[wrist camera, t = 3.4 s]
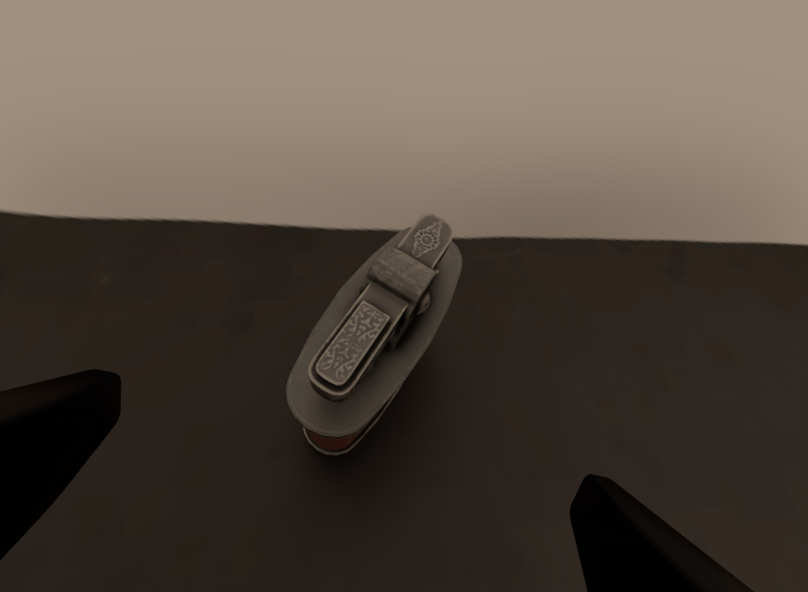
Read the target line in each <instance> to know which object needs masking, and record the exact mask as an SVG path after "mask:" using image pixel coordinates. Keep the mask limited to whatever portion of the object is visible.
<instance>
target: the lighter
mask: <svg viewBox="0 0 808 592" xmlns="http://www.w3.org/2000/svg"><path fill="white" fill-rule="evenodd" d="M453 236H454V229H453V227H452V226H451V225H450V224H449V223H448V222H446V221H445V220H443V219H442V218H440V217H438V216H436V215H433V214H425V215H422V216H421V217H420V218H419V219H418V220H417V221H416V223H415V224H414V225H413V227H411V228H410V227H409V228H407V229H405V230H403V231H401V232H399V233H398V234H397V235H396V236H394V237H393V238H392V239H391V240H390V241H388V242H387V243H386V244H385V245H384V246H382V247H381V248H380V249H379V250H378V251H376V252H375V253H374V254H373V255H372V256H371V257H370V258H369V259H368V260H367V261H366V262H365V263H364V264H363V265H362V266H361V267H360V268H359V269H358V271H357V272H356V273H355V274H354V275H353V276H352V277H351V278H350V279H349V280H348V281H347V282H346V284H345V285H344V286H343V287H342V288H341V289H340V290H339V292H338V293H337V295H336V296H335V298H334V299H333V301H332V302H331V304H330V305H329V307H328V308H327V310H326V311H325V313H324V314H323V315H322V317H321V318H320V320H319V321H318V323H317V324H316V326H315V327H314V329H313V331H312V333H311V334H310V336H309V338H308V340H307V342H306V344H305V346H304V348H303V350H302V352H301V354H300V356H299V358H298V360H297V362H296V364H295V365H294V367H293V369H292V371H291V373H290V376H289V379H288V383H287V386H286V391H287V400H288V404H289V406H290V408H291V410H292V412H293V414H294V416H295V418H296V420H297V421H298V422H299V423H300V424H301V425H302V426H303V429H304V434H305V436H306V438H307V440H308V442H309V443H310V445H311V446H312V447H313V448H314V449H315V450H317V451H318V452H320V453H322V454H325V455H327V456H340V455H343V454H346V453H348V452H349V451H350V450H352V449H353V448H354V447H355V446H356V445H357V444H358V443H359V441H360V440H361V439H362V438H363V437H364V436H365V435H366V434H367V433H368V431H369V430H370V429H371V428H372V427H373V426H374V425H375V424H376V422H377V421H378V420H379V418H380V417H381V415H382V414H383V413H384V411H385V410H386V408H387V407H388V405H389V404H390V403H391V401H392V400H393V398H394V397H395V396H396V394H397V393H398V391H399V389H400V387H401V385H402V383H403V382H404V381H405V379H406V378H407V376H408V375H409V374H410V372H411V371H412V369H413V368H414V366H415V365H416V364H417V362H418V361H419V359H420V358H421V357H422V355H423V354H424V352H425V351H426V349H427V348H428V346H429V345H430V343H431V341H432V339H433V337H434V335H435V333H436V331H437V329H438V327H439V325H440V323H441V321H442V319H443V317H444V315H445V313H446V311H447V309H448V307H449V305H450V302H451V299H452V296H453V293H454V290H455V287H456V284H457V281H458V278H459V275H460V272H461V269H462V257H461V254H460V251H459V249H458V248H457V246H456V245H455V244H454V242H453V241H452V238H453Z"/></svg>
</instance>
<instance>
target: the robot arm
mask: <svg viewBox="0 0 808 592" xmlns="http://www.w3.org/2000/svg"><path fill="white" fill-rule="evenodd" d="M120 410H121V379H120V376H119V375H118V374H116V373H112V372H108V371H103V370H98V369H91V370H87V371H83V372H79V373H75V374H70V375H66V376H62V377H58V378H54V379H50V380H46V381H42V382H37V383H33V384H29V385H25V386H21V387H17V388H13V389H8V390H4V391H0V560H1V559H2V558H3V557H4V556H5V555H6V553H7V552H8V551H9V550H10V549H11V548H12V547H13V546H14V545H15V544H16V543H17V542H18V541H19V540H20V539H21V538H22V536H23V535H24V534H25V533H26V532H27V531H28V530H29V529H30V528H31V527H32V526H33V525H34V524H35V523H36V522H37V520H38V519H39V518H40V517H41V516H42V515H43V514H44V513H45V512H46V511H47V509H48V508H49V507H50V506H51V505H52V504H53V503H54V502H55V500H56V499H57V498H58V497H59V496H60V494H61V493H62V492H63V491H64V489H65V488H66V487H67V486H68V484H69V483H70V482H71V481H72V479H73V478H74V477H75V476H76V474H77V473H78V472H79V470H80V469H81V468H82V467H83V465H84V464H85V463H86V462H87V460H88V459H89V458H90V456H91V455H92V454H93V453H94V451H95V450H96V449H97V448H98V446H99V445H100V444H101V442H102V441H103V440H104V439H105V437H106V436H107V435H108V434H109V432H110V431H111V430H112V428H113V427H114V426H115V424H116V423H117V421H118V418H119V416H120ZM570 519H571V524H572V528H573V532H574V536H575V541H576V545H577V549H578V553H579V557H580V562H581V566H582V570H583V574H584V578H585V583H586V587H587V591H588V592H753V591H752V590H751V589H750V588H748V587H747V586H746V585H745V584H743V583H742V582H741V581H740V580H738V579H737V578H736V577H734V576H733V575H732V574H731V573H729V572H728V571H727V570H726V569H724V568H723V567H722V566H720V565H719V564H718V563H717V562H715V561H714V560H713V559H712V558H710V557H709V556H708V555H707V554H705V553H704V552H703V551H701V550H700V549H699V548H698V547H696V546H695V545H694V544H693V543H691V542H690V541H689V540H687V539H686V538H685V537H684V536H682V535H681V534H680V533H679V532H677V531H676V530H675V529H674V528H672V527H671V526H670V525H668V524H667V523H666V522H665V521H663V520H662V519H661V518H660V517H658V516H657V515H656V514H654V513H653V512H652V511H651V510H649V509H648V508H647V507H646V506H644V505H643V504H642V503H641V502H639V501H638V500H637V499H635V498H634V497H633V496H632V495H630V494H629V493H628V492H627V491H625V490H624V489H623V488H621V487H620V486H619V485H618V484H616V483H615V482H614V481H613V480H611V479H609V478H607V477H602V476H597V475H592V474H590V475H587V476H586V477H585V478H584V479H583V481H582V483H581V485H580V487H579V489H578V491H577V493H576V496H575V498H574V500H573V502H572V504H571V507H570Z"/></svg>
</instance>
